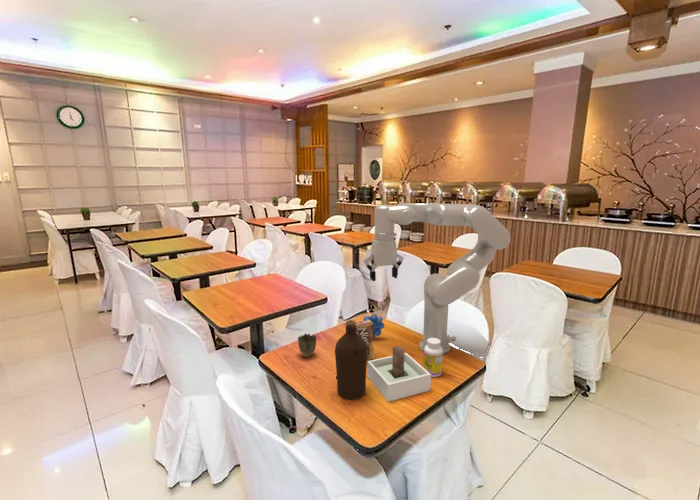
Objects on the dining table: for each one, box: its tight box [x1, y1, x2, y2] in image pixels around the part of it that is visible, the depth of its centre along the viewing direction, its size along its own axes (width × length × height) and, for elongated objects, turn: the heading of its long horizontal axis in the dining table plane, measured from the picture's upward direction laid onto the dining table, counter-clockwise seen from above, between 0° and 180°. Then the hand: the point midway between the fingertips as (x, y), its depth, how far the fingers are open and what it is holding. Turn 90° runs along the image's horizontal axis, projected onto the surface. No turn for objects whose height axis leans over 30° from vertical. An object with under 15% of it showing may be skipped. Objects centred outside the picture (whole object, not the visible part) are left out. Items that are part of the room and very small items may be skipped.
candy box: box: [355, 320, 375, 361], centre depth 140 cm, size 9×4×15 cm, turn 116°
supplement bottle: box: [422, 338, 444, 378], centre depth 130 cm, size 7×7×13 cm
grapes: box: [362, 313, 385, 339], centre depth 158 cm, size 12×7×12 cm, turn 93°
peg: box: [392, 345, 405, 379], centre depth 124 cm, size 4×4×12 cm
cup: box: [297, 333, 317, 358], centre depth 144 cm, size 8×7×8 cm
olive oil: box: [334, 319, 367, 401], centre depth 118 cm, size 11×11×25 cm
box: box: [366, 352, 432, 403], centre depth 124 cm, size 16×16×6 cm
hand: (383, 278), depth 144 cm, fingers open, 9 cm apart
